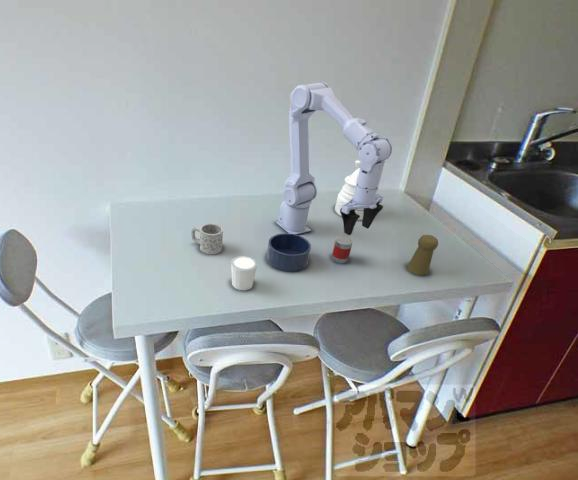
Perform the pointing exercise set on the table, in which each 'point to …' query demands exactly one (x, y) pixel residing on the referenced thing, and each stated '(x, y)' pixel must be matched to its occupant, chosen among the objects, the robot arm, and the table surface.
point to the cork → (423, 255)
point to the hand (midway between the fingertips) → (356, 230)
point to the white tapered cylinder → (243, 272)
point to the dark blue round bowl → (288, 252)
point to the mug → (209, 238)
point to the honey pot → (349, 192)
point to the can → (341, 249)
